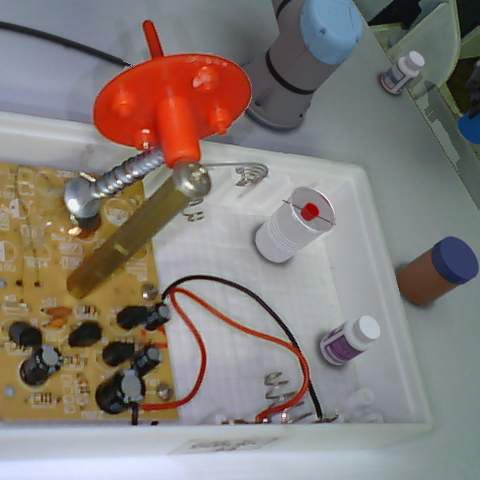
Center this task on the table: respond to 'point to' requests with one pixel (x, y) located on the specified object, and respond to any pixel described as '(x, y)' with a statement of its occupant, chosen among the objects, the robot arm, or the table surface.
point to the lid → (455, 260)
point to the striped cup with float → (295, 224)
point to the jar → (423, 281)
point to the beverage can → (469, 128)
